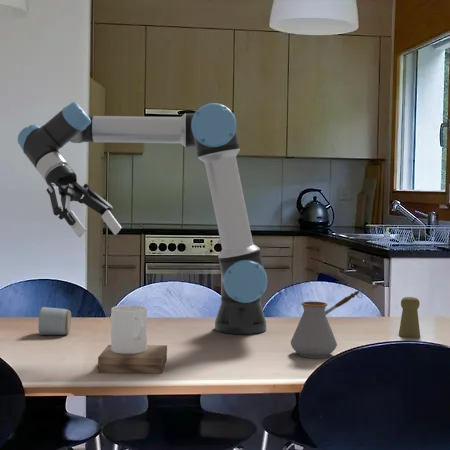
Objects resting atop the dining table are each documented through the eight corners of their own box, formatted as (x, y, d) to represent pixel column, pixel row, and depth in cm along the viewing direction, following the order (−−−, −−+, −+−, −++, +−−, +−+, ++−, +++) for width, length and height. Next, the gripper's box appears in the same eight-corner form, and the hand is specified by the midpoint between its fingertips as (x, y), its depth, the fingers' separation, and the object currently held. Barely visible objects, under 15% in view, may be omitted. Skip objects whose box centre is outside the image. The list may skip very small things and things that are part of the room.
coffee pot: (310, 362, 166) (311, 299, 165) (281, 352, 175) (281, 293, 175) (375, 351, 177) (376, 293, 177) (344, 343, 187) (345, 288, 186)
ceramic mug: (68, 337, 191) (68, 309, 191) (37, 337, 191) (38, 309, 191) (73, 330, 202) (73, 304, 202) (44, 330, 201) (44, 304, 201)
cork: (422, 334, 199) (422, 296, 199) (418, 338, 194) (419, 299, 194) (400, 332, 202) (401, 295, 202) (396, 336, 197) (397, 297, 196)
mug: (125, 359, 152) (126, 314, 151) (106, 348, 162) (106, 306, 161) (159, 355, 156) (159, 311, 155) (138, 345, 166) (138, 304, 166)
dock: (167, 359, 166) (167, 345, 166) (161, 373, 153) (161, 358, 153) (108, 359, 166) (108, 344, 166) (98, 373, 153) (98, 357, 153)
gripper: (82, 184, 196) (124, 239, 189) (13, 182, 174) (58, 245, 167) (96, 165, 193) (139, 220, 186) (29, 161, 171) (74, 223, 164)
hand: (101, 232), depth 176 cm, fingers open, 13 cm apart
